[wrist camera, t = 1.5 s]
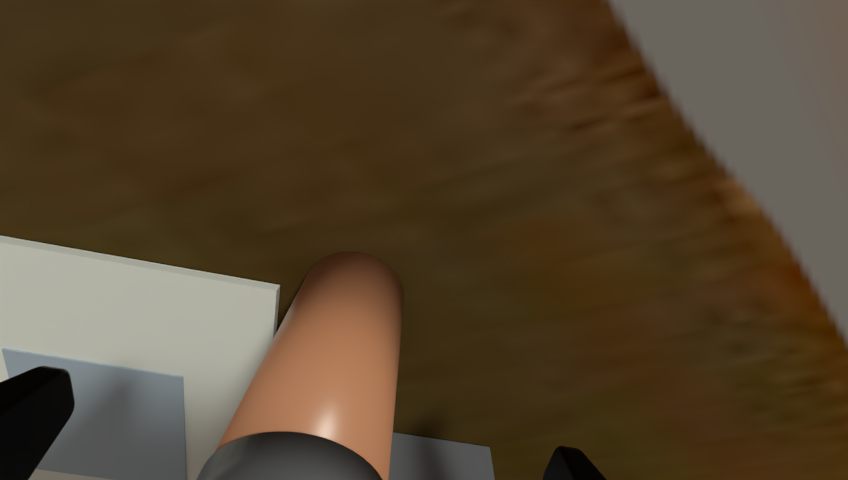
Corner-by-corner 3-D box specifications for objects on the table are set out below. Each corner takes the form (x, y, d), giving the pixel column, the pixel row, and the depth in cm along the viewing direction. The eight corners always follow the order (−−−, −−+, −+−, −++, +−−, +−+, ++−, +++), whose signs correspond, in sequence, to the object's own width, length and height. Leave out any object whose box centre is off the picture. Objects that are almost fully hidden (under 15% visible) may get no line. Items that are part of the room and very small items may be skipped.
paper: (280, 284, 12) (276, 291, 11) (259, 549, 17) (256, 559, 16) (-117, 214, 11) (-135, 220, 11) (-17, 514, 16) (-26, 524, 15)
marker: (414, 261, 11) (400, 537, 5) (395, 347, 13) (364, 660, 6) (305, 241, 11) (143, 503, 5) (296, 330, 12) (156, 637, 6)
